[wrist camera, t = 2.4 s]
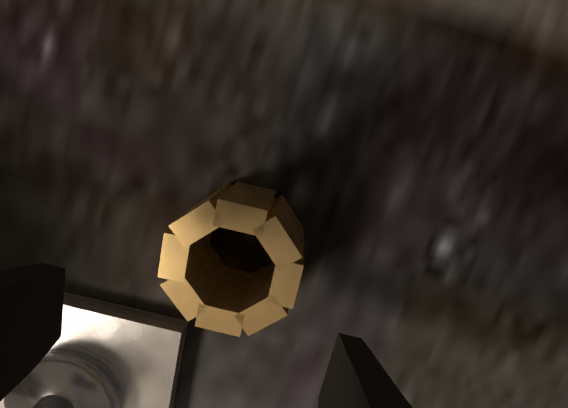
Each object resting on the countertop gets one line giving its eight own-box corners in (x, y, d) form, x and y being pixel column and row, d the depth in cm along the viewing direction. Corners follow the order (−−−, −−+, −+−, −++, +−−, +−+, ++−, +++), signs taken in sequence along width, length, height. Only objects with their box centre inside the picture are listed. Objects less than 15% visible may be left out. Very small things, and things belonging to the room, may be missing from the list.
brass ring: (313, 199, 15) (315, 221, 12) (287, 300, 16) (282, 347, 13) (200, 172, 15) (170, 187, 12) (183, 276, 17) (152, 316, 13)
